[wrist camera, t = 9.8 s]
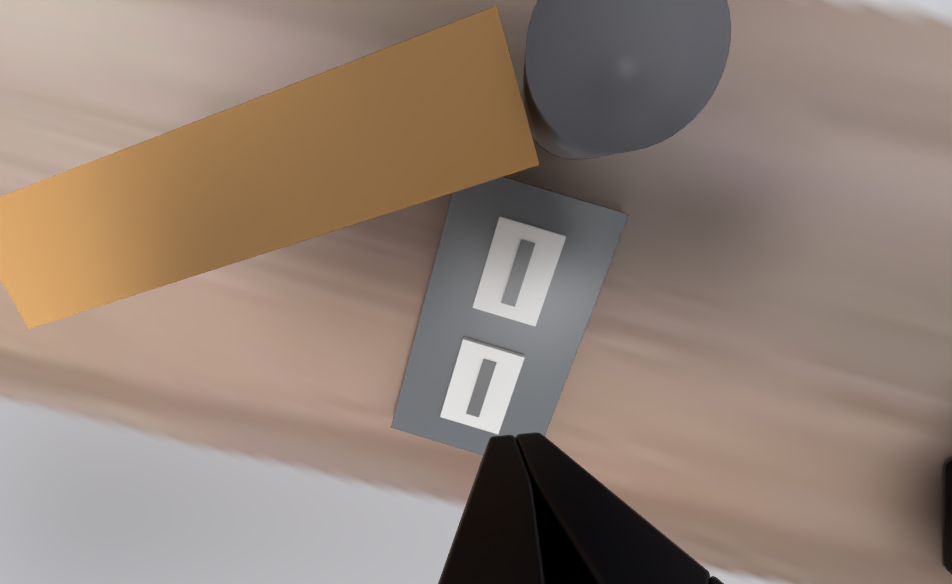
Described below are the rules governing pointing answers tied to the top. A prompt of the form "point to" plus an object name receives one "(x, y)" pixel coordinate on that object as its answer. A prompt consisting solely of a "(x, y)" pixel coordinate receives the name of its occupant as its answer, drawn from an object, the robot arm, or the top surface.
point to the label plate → (504, 312)
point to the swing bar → (360, 146)
